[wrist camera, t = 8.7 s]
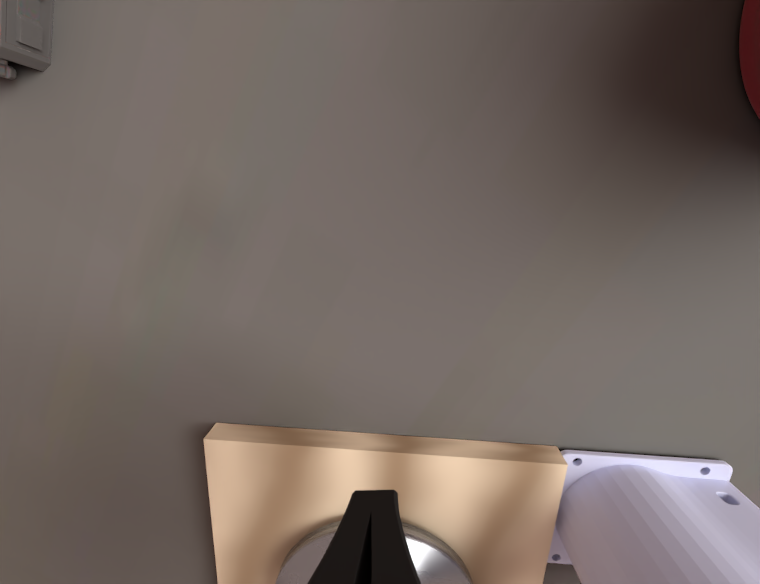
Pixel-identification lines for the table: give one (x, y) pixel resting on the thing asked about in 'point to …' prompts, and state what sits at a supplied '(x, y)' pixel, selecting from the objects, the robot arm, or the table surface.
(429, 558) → the flange
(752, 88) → the canister
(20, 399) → the table surface
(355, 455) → the base plate
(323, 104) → the table surface
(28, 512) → the table surface
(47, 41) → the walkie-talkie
